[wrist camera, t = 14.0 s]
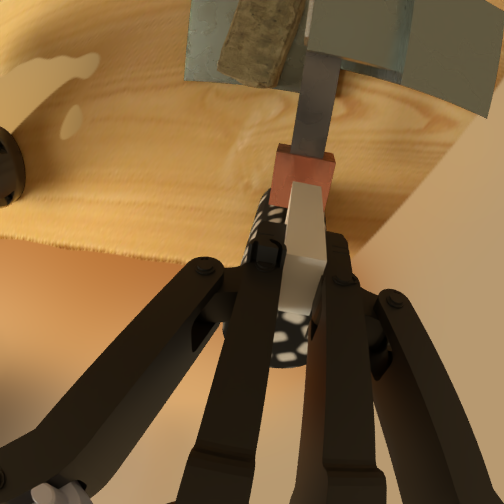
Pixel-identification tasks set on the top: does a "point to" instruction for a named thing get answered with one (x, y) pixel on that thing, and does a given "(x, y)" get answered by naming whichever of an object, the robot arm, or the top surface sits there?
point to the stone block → (260, 41)
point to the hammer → (309, 129)
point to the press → (375, 44)
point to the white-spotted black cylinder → (287, 324)
